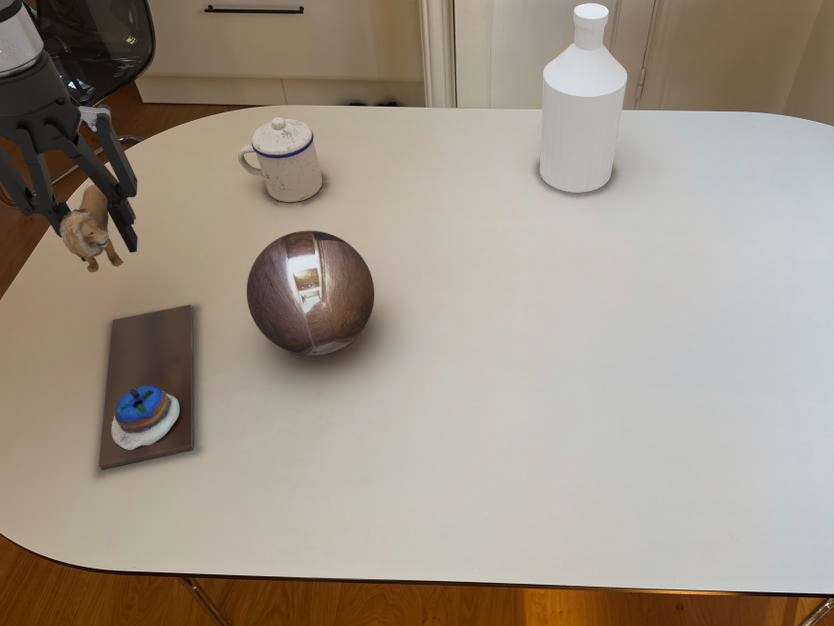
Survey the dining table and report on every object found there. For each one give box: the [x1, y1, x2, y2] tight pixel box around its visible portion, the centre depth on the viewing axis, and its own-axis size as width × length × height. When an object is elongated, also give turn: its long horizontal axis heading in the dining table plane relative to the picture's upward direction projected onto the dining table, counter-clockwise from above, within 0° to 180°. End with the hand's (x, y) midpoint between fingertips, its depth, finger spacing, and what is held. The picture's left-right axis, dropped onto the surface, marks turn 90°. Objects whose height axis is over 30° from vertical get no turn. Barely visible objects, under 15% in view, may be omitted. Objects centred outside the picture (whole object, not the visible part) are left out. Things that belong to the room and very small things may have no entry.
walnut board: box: [98, 304, 194, 470], centre depth 86 cm, size 10×23×1 cm, turn 15°
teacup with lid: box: [237, 116, 323, 203], centre depth 107 cm, size 12×9×12 cm
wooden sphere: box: [246, 230, 375, 356], centre depth 85 cm, size 15×15×15 cm
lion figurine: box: [60, 183, 137, 273], centre depth 80 cm, size 15×5×9 cm, turn 15°
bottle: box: [539, 2, 628, 194], centre depth 103 cm, size 12×12×25 cm
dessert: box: [111, 385, 180, 450], centre depth 81 cm, size 8×7×6 cm
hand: (110, 249), depth 83 cm, fingers closed on lion figurine, 5 cm apart
